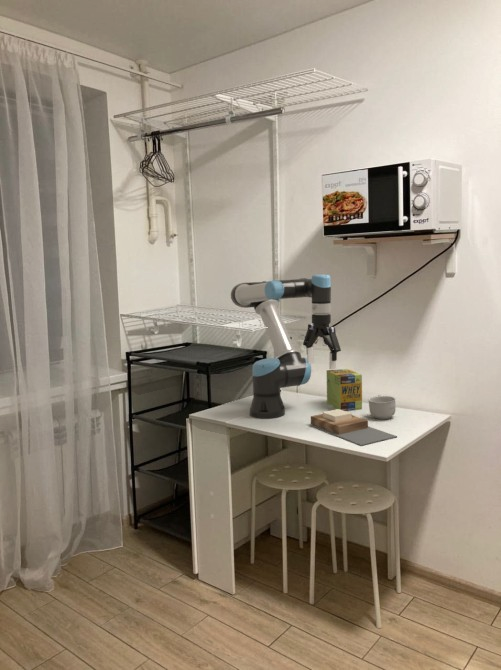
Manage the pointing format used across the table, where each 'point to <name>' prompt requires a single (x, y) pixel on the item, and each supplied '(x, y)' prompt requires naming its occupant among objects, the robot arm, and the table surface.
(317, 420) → the stand
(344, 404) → the protein box
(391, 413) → the teacup
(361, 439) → the mat
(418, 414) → the table surface
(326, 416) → the coaster
